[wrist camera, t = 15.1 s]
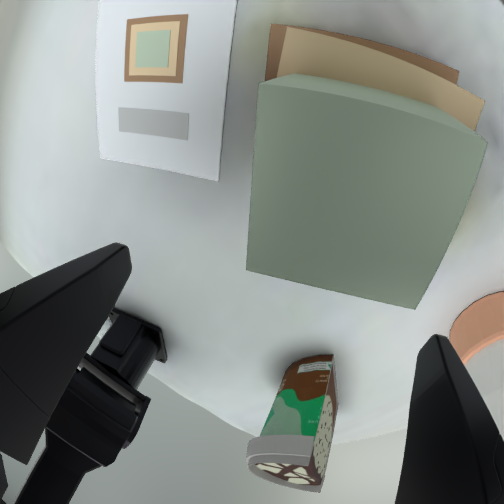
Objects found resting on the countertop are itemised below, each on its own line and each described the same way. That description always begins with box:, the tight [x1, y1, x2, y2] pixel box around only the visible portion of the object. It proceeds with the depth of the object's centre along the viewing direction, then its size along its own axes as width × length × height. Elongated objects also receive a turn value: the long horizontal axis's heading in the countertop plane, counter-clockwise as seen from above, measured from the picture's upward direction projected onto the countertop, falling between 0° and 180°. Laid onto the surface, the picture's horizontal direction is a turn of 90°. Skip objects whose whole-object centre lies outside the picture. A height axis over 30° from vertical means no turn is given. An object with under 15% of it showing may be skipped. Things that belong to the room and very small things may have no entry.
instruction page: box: [96, 0, 237, 181], centre depth 14 cm, size 12×9×1 cm
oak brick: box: [277, 27, 485, 131], centre depth 10 cm, size 6×6×4 cm
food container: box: [246, 354, 338, 493], centre depth 23 cm, size 12×6×10 cm, turn 16°
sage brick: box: [246, 73, 488, 310], centre depth 7 cm, size 4×4×4 cm
